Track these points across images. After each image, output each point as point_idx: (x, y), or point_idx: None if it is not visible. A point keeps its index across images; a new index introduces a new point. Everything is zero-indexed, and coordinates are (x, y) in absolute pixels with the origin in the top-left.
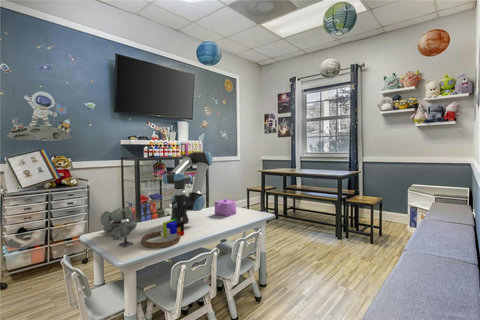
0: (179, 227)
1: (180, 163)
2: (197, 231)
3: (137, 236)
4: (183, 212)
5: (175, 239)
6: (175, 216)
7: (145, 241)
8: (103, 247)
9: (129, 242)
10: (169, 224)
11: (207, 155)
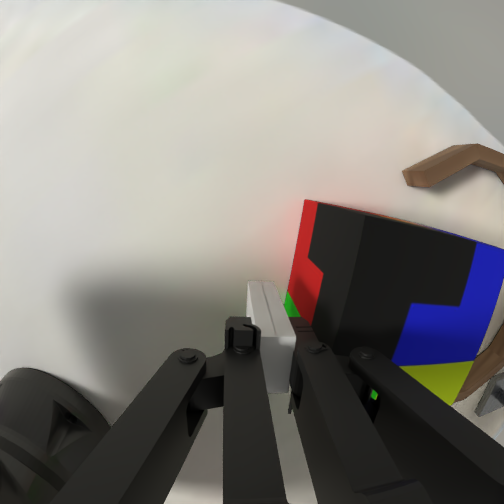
0: (406, 222)
1: None
2: (155, 135)
3: None
4: (187, 404)
5: (496, 152)
6: (370, 407)
7: None
8: (500, 424)
9: (495, 391)
10: (489, 310)
11: None
